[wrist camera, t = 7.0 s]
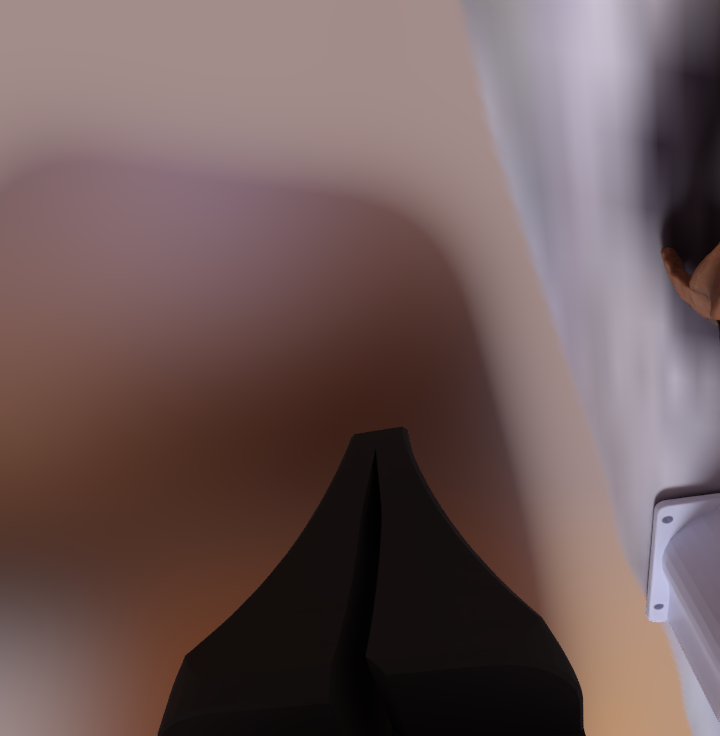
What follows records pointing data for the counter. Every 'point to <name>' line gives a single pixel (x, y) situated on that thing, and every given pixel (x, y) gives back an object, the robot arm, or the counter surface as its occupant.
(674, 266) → the pottery mug
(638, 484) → the counter surface
